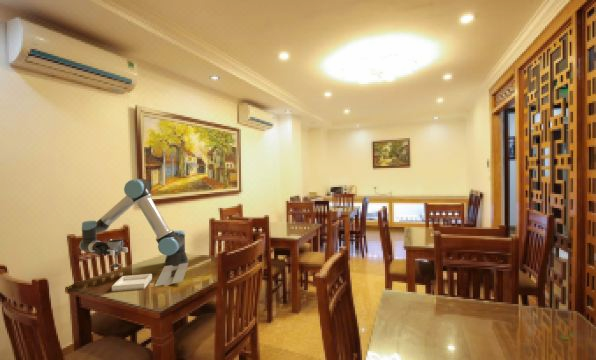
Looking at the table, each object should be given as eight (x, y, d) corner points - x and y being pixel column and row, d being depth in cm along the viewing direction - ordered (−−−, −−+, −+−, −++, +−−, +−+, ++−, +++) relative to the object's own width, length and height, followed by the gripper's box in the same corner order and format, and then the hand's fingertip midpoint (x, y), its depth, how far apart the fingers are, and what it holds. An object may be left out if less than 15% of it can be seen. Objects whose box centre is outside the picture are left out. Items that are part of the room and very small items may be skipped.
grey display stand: (188, 289, 171) (193, 266, 182) (182, 281, 165) (187, 258, 176) (161, 293, 172) (167, 270, 183) (154, 286, 166) (160, 263, 177)
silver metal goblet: (113, 263, 179) (113, 239, 179) (126, 263, 179) (126, 239, 178) (104, 267, 171) (104, 242, 171) (118, 267, 171) (117, 242, 171)
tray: (152, 278, 178) (151, 273, 178) (144, 288, 162) (144, 283, 162) (122, 281, 174) (122, 276, 174) (111, 291, 159) (111, 286, 158)
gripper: (114, 249, 192) (137, 253, 181) (80, 257, 174) (103, 262, 164) (114, 238, 192) (136, 241, 181) (80, 244, 174) (102, 249, 164)
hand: (120, 251), depth 173 cm, fingers closed on silver metal goblet, 7 cm apart
